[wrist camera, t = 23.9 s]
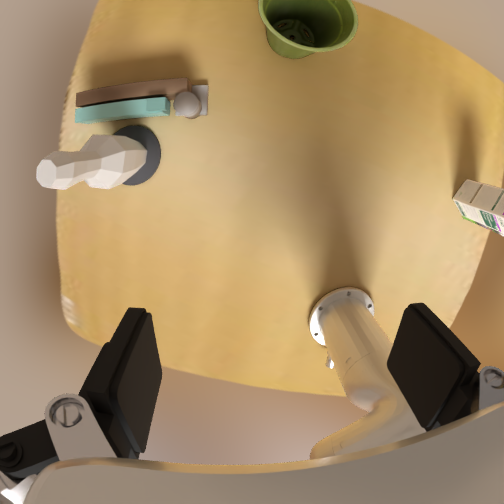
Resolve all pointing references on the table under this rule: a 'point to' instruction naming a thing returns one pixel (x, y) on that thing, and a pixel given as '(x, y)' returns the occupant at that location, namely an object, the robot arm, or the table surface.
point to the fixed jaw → (152, 95)
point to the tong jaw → (123, 110)
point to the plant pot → (308, 25)
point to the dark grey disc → (152, 152)
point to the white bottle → (93, 163)
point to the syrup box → (481, 205)
